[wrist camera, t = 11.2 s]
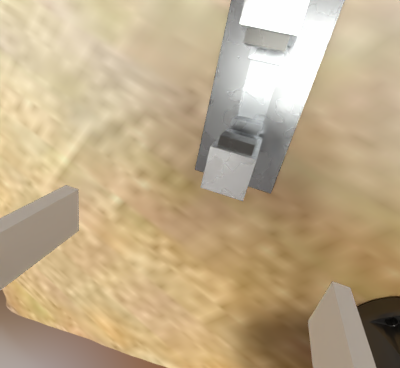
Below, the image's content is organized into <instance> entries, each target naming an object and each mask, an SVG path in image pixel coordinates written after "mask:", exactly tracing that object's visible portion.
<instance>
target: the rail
mask: <svg viewBox="0 0 400 368" xmlns="http://www.w3.org/2000/svg"><path fill="white" fill-rule="evenodd" d="M343 3H344V0H231V4H230V9H229V13H228V18H227V23H226V27H225V32H224V37H223V41H222V46H221V51H220V55H219V60H218V65H217V69H216V74H215V79H214V83H213V88H212V93H211V97H210V102H209V107H208V111H207V116H206V121H205V125H204V130H203V134H202V139H201V144H200V148H199V153H198V158H197V162H196V167H195V170H198V171H201V172H204V171H205V167H206V162H207V158H208V154H209V150H210V146H211V145H212V144H213V143H214V142H215V141H216V140H217V139H218V138H219V137H220V135H221V134H222V133H223V132H224V131H226V130H227V129H228V128H229V129H232V130H236V131H239V132H243V133H246V134H250V135H254V136H257V137H261V138H263V139H262V143H261V146H260V150H259V153H258V157H257V160H256V163H255V166H254V169H253V172H252V175H251V178H250V181H249V184H248V186H249V187H252V188H255V189H258V190H261V191H265V192H268V193H271V192H272V189H273V186H274V184H275V181H276V178H277V176H278V173H279V171H280V168H281V165H282V163H283V160H284V157H285V155H286V152H287V150H288V147H289V144H290V142H291V139H292V137H293V134H294V131H295V129H296V126H297V123H298V121H299V118H300V116H301V113H302V110H303V108H304V105H305V103H306V100H307V97H308V95H309V92H310V89H311V87H312V84H313V82H314V79H315V76H316V74H317V71H318V69H319V66H320V63H321V61H322V58H323V55H324V53H325V50H326V48H327V45H328V42H329V40H330V37H331V34H332V32H333V29H334V27H335V24H336V21H337V19H338V16H339V14H340V11H341V8H342V6H343Z"/></svg>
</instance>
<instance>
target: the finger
mask: <svg viewBox="0 0 400 368" xmlns="http://www.w3.org/2000/svg"><path fill="white" fill-rule="evenodd" d="M262 139H263V138H261V137H257V136H254V135H250V134H246V133H243V132H239V131H236V130H232V129H229V128H228V129H227V130H226V131H224V132H223V133H222V134H221V135H220V137H219V138H218V139H217V140H216V141H215V142H214V143H213V144H212V145H211V146H210V150H209V154H208V158H207V162H206V167H205V171H204V175H203V179H202V183H201V188H204V189H207V190H210V191H213V192H216V193H219V194H222V195H225V196H228V197H231V198H234V199H238V200H241V201H243V199H244V196H245V193H246V190H247V187H248V184H249V181H250V178H251V175H252V172H253V169H254V166H255V163H256V160H257V157H258V153H259V150H260V146H261V143H262Z"/></svg>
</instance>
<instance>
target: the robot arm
mask: <svg viewBox="0 0 400 368" xmlns="http://www.w3.org/2000/svg"><path fill="white" fill-rule="evenodd" d="M78 231H79V206H78V189H76V188H73V187H70V186H67V185H65V186H63V187H61V188H59V189H57V190H55V191H53V192H51V193H49V194H47V195H45V196H43V197H41V198H39V199H38V200H36V201H34V202H32V203H30V204H28V205H26V206H24V207H22V208H20V209H18V210H16V211H14V212H12V213H10V214H8V215H6V216H4V217H2V218H0V290H1V289H3V288H4V287H5V286H7V285H8V284H9V283H11V282H12V281H13V280H15V279H16V278H17V277H19V276H20V275H21V274H22V273H24V272H25V271H26V270H28V269H29V268H30V267H32V266H33V265H34V264H36V263H37V262H38V261H40V260H41V259H42V258H43V257H45V256H46V255H47V254H49V253H50V252H51V251H53V250H54V249H55V248H57V247H58V246H59V245H61V244H62V243H63V242H65V241H66V240H67V239H68V238H70V237H71V236H72V235H74V234H75V233H76V232H78ZM308 327H309V337H310V346H311V355H312V364H313V368H400V297H399V298H385V299H379V300H375V301H371V302H368V303H366V304H363V305H361V306H359V307H356V303H355V300H354V297H353V294H352V291H351V288H350V287H347V286H344V285H341V284H339V283H336V282H333V281H332V283H331V284H330V286H329V287H328V289H327V291H326V292H325V294H324V296H323V297H322V299H321V300H320V302H319V304H318V305H317V307H316V309H315V310H314V312H313V313H312V315H311V317H310V318H309V320H308Z"/></svg>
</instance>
